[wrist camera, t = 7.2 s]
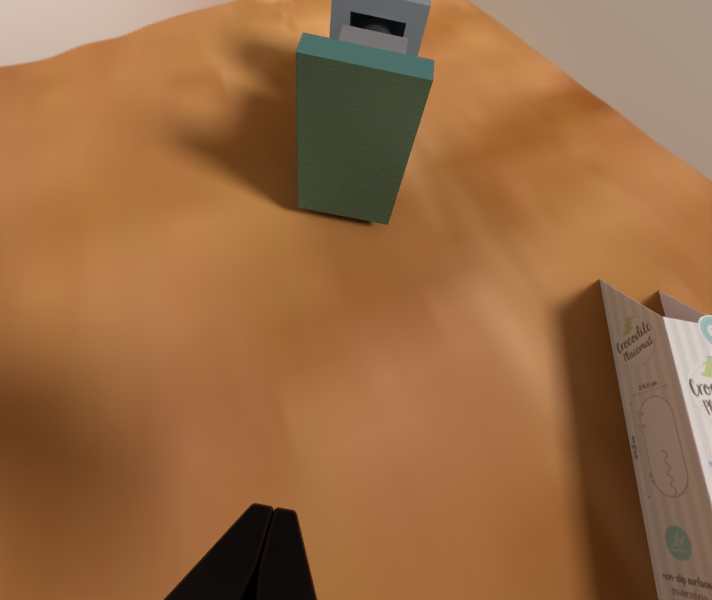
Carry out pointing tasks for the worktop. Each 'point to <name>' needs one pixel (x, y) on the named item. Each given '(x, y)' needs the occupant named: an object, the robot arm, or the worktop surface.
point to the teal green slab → (356, 122)
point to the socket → (399, 3)
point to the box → (668, 433)
